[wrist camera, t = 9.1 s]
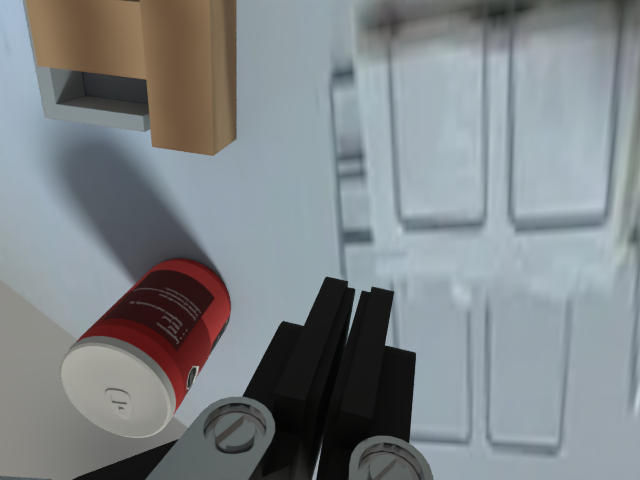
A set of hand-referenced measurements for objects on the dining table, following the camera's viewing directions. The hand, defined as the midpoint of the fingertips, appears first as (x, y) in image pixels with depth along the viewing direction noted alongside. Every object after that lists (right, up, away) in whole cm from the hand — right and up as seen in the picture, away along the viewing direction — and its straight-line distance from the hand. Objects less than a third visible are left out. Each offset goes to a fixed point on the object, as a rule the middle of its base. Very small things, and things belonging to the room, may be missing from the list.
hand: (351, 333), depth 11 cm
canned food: (-11, -2, +28) cm, 30 cm away
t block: (-12, +15, +19) cm, 27 cm away
